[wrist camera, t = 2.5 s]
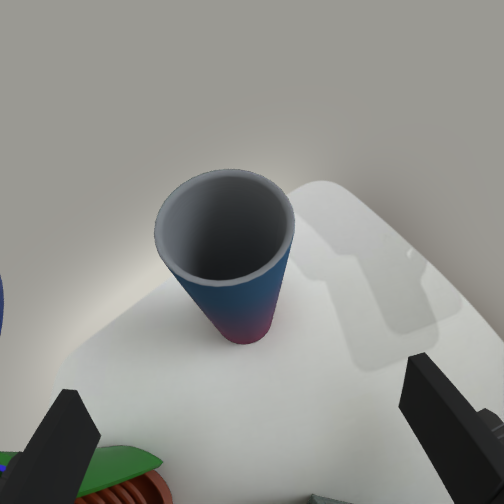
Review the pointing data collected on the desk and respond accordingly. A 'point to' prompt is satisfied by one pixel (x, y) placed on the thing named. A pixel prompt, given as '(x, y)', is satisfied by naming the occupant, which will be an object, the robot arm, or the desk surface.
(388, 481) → the desk surface
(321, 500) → the holder
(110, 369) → the desk surface
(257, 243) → the cup
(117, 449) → the coaster caddy
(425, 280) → the desk surface
